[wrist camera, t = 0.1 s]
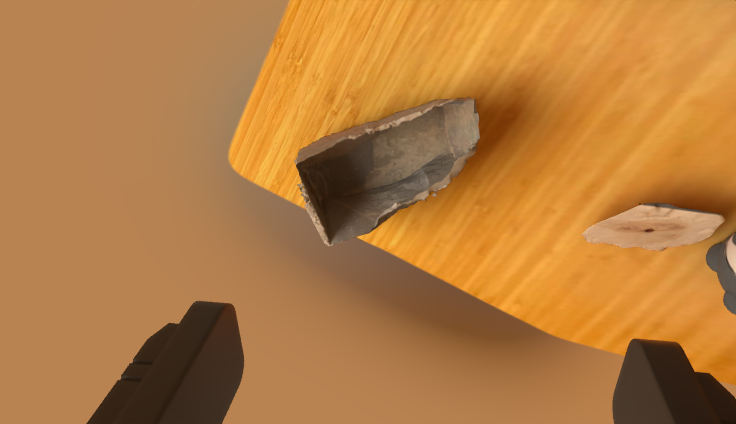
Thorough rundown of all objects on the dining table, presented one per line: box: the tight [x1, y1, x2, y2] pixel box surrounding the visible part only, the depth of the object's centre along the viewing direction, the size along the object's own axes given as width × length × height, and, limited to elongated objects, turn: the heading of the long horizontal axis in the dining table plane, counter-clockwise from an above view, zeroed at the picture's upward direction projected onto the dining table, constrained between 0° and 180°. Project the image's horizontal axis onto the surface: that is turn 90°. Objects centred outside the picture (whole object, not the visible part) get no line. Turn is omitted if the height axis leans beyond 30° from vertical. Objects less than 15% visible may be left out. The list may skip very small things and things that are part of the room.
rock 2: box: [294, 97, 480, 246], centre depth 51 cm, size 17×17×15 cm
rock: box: [582, 203, 725, 251], centre depth 53 cm, size 11×4×12 cm
